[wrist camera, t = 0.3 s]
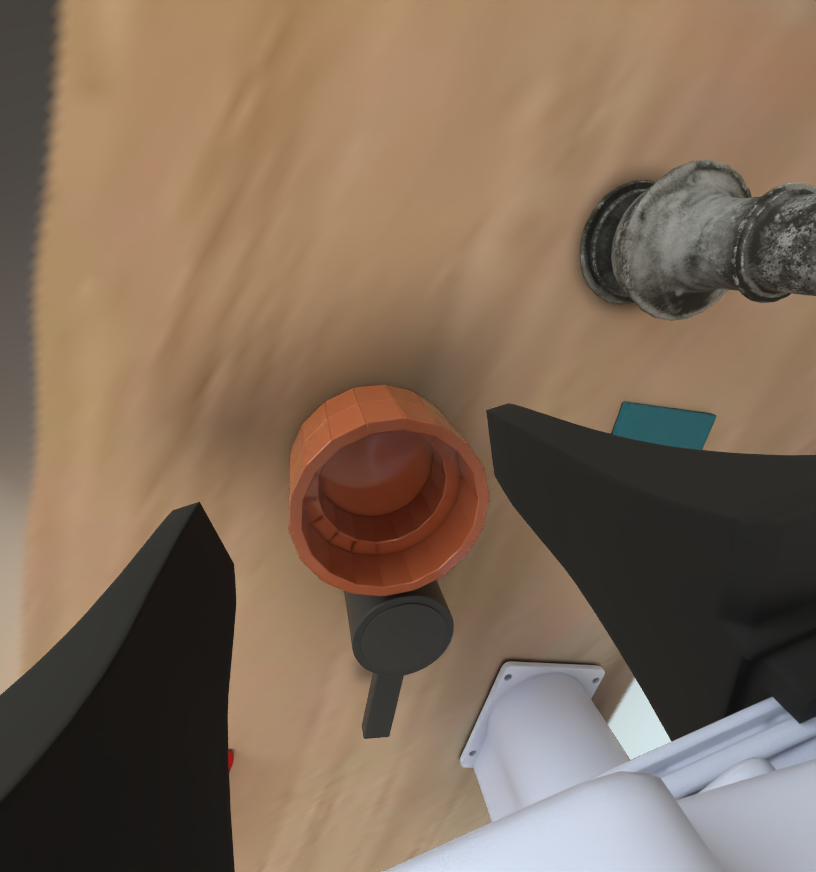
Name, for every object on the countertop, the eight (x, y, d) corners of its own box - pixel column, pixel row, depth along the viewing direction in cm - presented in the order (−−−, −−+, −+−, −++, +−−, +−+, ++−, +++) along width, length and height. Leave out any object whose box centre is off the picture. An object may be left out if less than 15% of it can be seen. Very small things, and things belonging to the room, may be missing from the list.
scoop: (349, 535, 24) (360, 596, 20) (436, 538, 26) (464, 596, 21) (326, 676, 28) (331, 755, 23) (404, 673, 29) (422, 746, 25)
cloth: (572, 544, 28) (575, 548, 28) (623, 401, 25) (628, 403, 24) (654, 547, 29) (658, 550, 29) (711, 413, 26) (717, 415, 26)
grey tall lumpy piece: (653, 141, 20) (1071, 20, 9) (706, 249, 23) (1084, 254, 12) (550, 239, 21) (829, 234, 10) (612, 335, 23) (890, 414, 12)
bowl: (426, 539, 25) (454, 603, 21) (274, 519, 23) (269, 587, 18) (473, 402, 23) (517, 441, 18) (309, 364, 20) (313, 397, 16)
